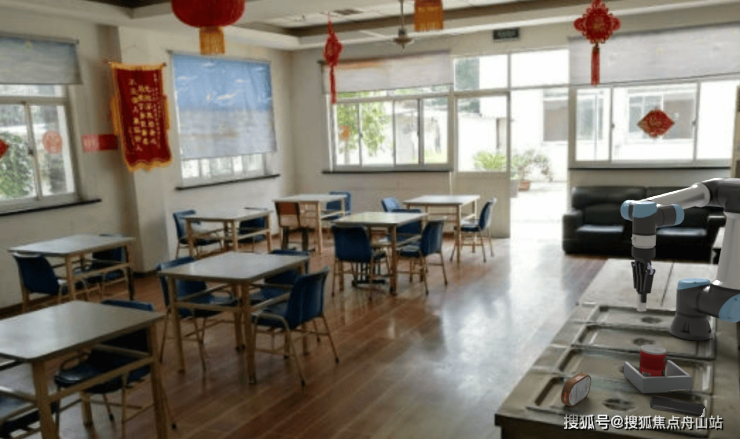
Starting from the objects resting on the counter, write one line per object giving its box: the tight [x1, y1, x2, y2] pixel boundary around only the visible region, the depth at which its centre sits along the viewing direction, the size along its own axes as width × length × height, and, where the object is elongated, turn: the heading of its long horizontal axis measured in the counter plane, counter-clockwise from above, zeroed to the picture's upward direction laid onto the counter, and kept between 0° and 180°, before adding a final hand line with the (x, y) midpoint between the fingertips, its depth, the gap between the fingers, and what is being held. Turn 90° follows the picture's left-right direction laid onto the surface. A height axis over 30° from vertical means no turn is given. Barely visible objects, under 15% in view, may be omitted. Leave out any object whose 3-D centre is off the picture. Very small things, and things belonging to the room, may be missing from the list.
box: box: [623, 359, 693, 394], centre depth 198 cm, size 16×14×5 cm
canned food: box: [638, 344, 667, 377], centre depth 201 cm, size 8×8×11 cm
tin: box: [560, 371, 592, 407], centre depth 187 cm, size 15×3×8 cm, turn 133°
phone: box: [649, 395, 706, 418], centre depth 182 cm, size 8×1×15 cm
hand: (641, 310), depth 212 cm, fingers closed
